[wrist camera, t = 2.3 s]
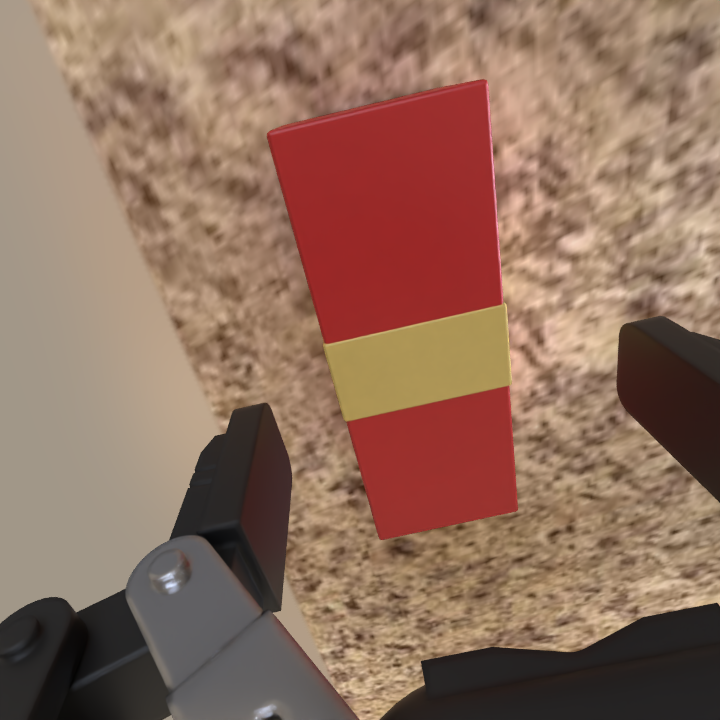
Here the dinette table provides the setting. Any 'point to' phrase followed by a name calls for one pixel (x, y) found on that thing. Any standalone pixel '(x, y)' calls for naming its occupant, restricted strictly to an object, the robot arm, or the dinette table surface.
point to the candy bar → (409, 298)
